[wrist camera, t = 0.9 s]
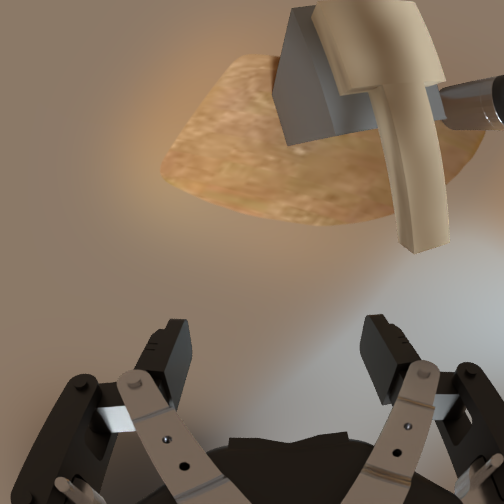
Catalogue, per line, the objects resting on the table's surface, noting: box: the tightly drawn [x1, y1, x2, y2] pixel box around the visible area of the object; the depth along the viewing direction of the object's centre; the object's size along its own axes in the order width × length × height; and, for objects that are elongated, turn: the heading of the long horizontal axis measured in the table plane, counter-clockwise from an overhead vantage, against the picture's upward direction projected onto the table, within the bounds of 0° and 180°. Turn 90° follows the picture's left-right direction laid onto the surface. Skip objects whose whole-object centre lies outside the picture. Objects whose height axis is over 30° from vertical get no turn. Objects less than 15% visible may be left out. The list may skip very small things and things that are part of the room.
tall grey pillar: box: [272, 5, 446, 146], centre depth 30 cm, size 9×10×32 cm
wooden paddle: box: [311, 0, 450, 254], centre depth 15 cm, size 7×16×2 cm, turn 16°
